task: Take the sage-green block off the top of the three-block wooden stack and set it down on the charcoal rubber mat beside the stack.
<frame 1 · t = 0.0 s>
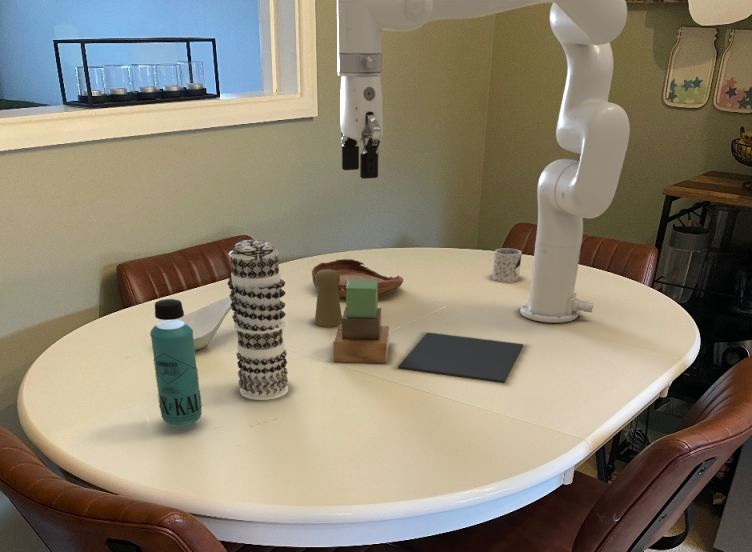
hand: (359, 173, 141), 31 cm above the table, tool pointing down, fingers open, 9 cm apart
green block: (362, 313, 146), point 8 cm above the table, touching walnut block
walnut block: (362, 333, 148), point 4 cm above the table, touching green block, oak block
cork: (328, 323, 166), on the table
spoon rest: (213, 340, 157), on the table
oak block: (361, 353, 151), on the table, touching walnut block
beverage bottle: (183, 426, 123), on the table
wooden bowl: (357, 291, 186), on the table
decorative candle: (264, 391, 135), on the table
mug: (504, 277, 197), on the table
mat: (462, 356, 149), on the table
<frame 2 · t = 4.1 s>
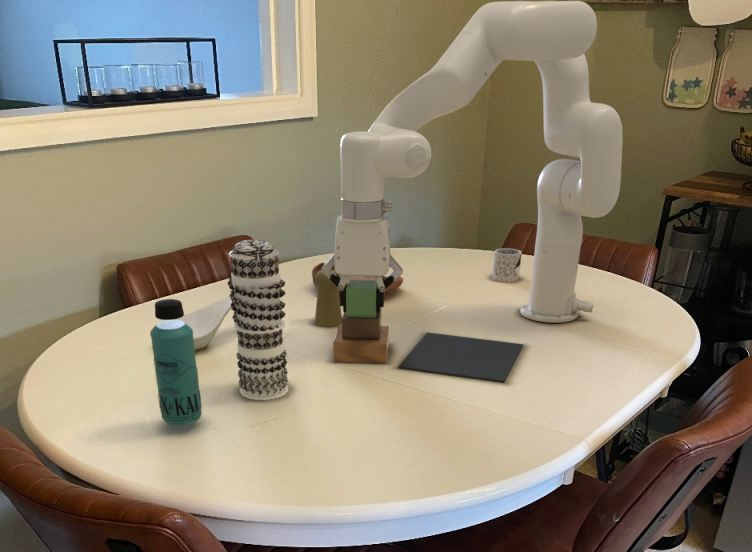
hand: (362, 309, 146), 9 cm above the table, tool pointing down, fingers closed on green block, 5 cm apart
green block: (362, 313, 146), point 8 cm above the table, touching gripper, walnut block
everything else where it was.
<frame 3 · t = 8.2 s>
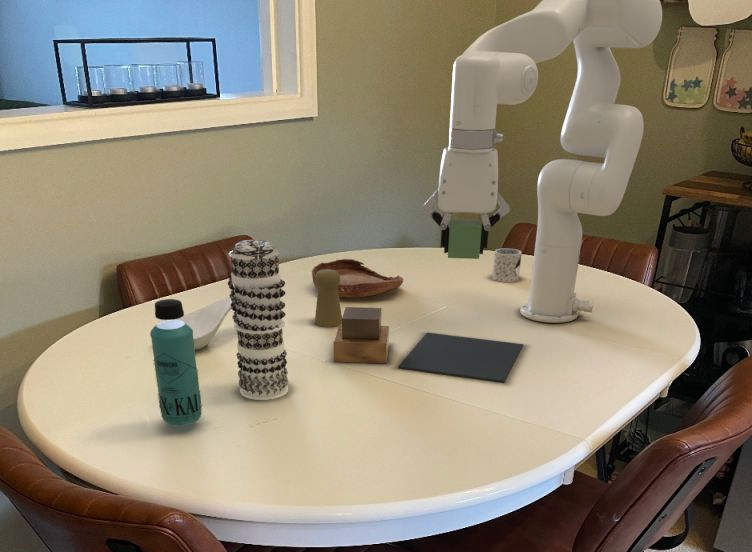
hand: (463, 250, 138), 20 cm above the table, tool pointing down, fingers closed on green block, 5 cm apart
green block: (463, 254, 138), point 20 cm above the table, touching gripper
walnut block: (362, 333, 148), point 4 cm above the table, touching oak block
everything else where it was.
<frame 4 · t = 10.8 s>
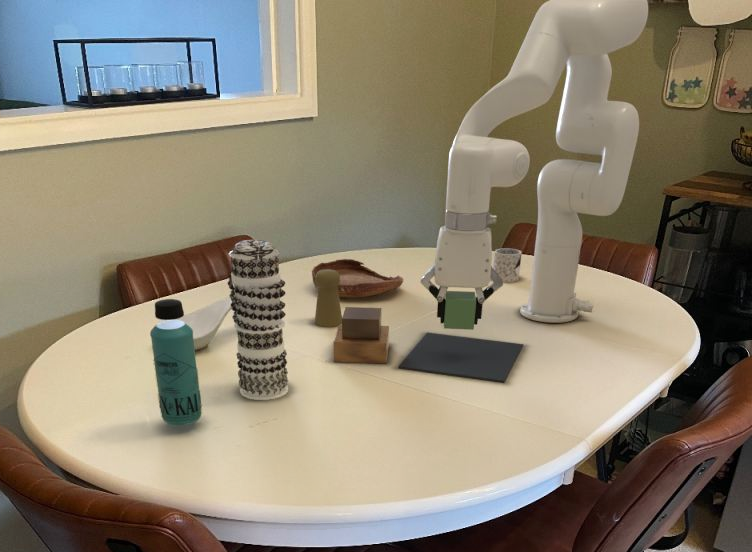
hand: (458, 320, 145), 7 cm above the table, tool pointing down, fingers closed on green block, 5 cm apart
green block: (458, 324, 145), point 7 cm above the table, touching gripper
everything else where it was.
when the fingers open (1 cm above the table, at t = 12.8 s): green block stays where it is, resting on mat.
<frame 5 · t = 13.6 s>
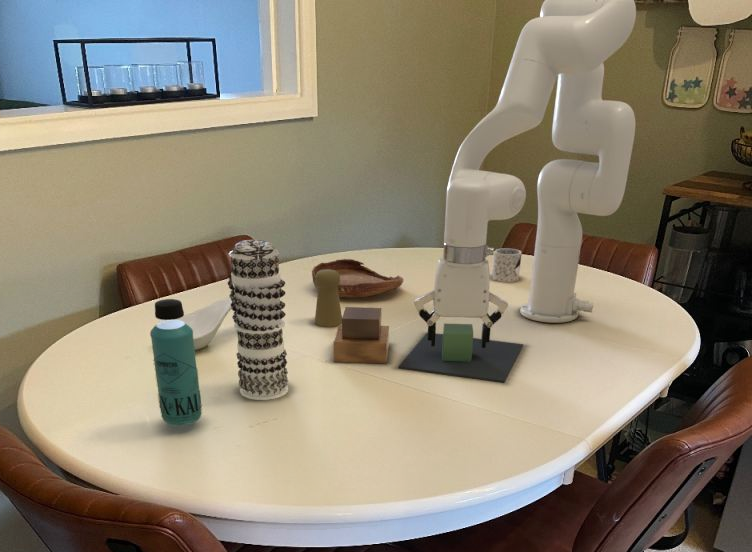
hand: (458, 344, 147), 3 cm above the table, tool pointing down, fingers open, 9 cm apart
green block: (456, 356, 148), resting on mat
everything else where it was.
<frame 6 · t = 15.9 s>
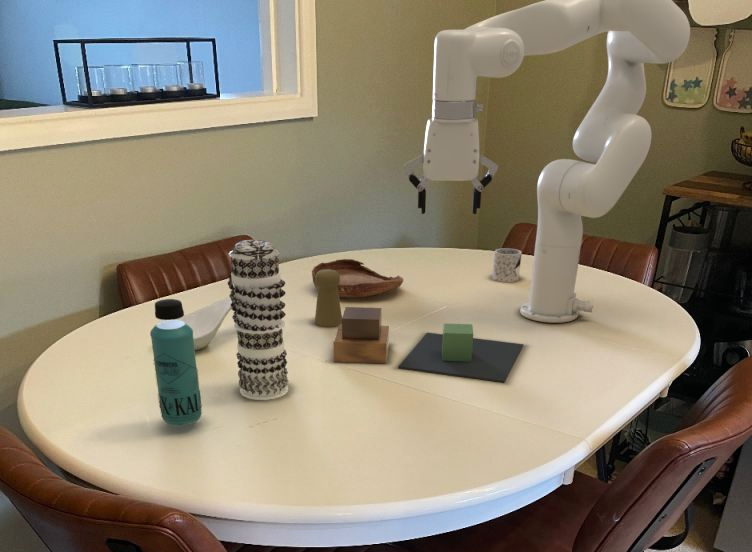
hand: (448, 212, 146), 24 cm above the table, tool pointing down, fingers open, 9 cm apart
nothing on the table moved.
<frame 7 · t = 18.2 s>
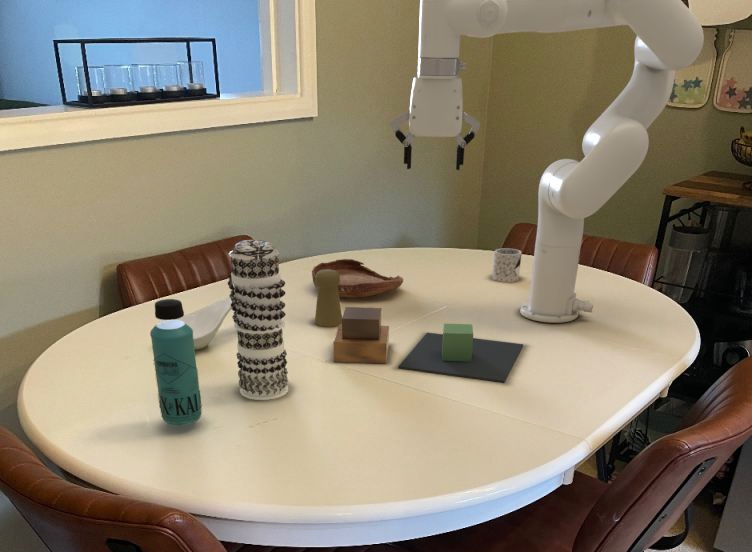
hand: (433, 168, 153), 30 cm above the table, tool pointing down, fingers open, 9 cm apart
nothing on the table moved.
at the end: green block inside the target area on the mat (1.6 cm from its centre), point 0.4 cm above the mat's base; green block tilted 0°; walnut block 0.0 cm off-centre on the oak block, point 4.0 cm above the oak block's base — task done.
